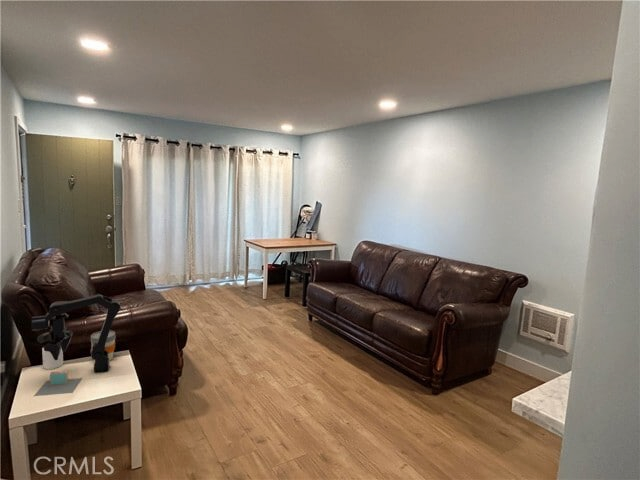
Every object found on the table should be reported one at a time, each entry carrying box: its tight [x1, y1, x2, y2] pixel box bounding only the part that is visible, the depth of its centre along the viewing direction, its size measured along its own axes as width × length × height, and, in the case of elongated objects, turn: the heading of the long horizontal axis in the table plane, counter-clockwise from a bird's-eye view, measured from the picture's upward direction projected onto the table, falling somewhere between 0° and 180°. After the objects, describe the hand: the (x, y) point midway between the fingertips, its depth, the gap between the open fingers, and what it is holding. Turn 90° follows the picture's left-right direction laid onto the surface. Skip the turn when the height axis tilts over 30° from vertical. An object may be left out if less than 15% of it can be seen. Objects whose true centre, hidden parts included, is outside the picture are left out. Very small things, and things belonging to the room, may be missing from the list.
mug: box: [41, 347, 64, 370], centre depth 200 cm, size 12×9×11 cm
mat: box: [33, 377, 83, 397], centre depth 180 cm, size 16×14×1 cm
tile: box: [49, 370, 69, 385], centre depth 182 cm, size 7×2×6 cm, turn 106°
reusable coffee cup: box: [90, 330, 117, 361], centre depth 210 cm, size 13×13×15 cm
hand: (60, 355), depth 187 cm, fingers open, 9 cm apart
